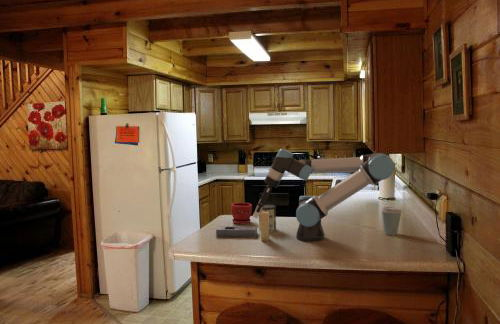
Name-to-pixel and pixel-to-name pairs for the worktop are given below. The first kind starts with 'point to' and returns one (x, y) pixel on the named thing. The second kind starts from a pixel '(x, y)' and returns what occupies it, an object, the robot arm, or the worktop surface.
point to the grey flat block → (236, 231)
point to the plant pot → (241, 216)
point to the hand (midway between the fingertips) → (256, 214)
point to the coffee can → (272, 217)
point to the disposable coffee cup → (391, 220)
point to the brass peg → (264, 226)
